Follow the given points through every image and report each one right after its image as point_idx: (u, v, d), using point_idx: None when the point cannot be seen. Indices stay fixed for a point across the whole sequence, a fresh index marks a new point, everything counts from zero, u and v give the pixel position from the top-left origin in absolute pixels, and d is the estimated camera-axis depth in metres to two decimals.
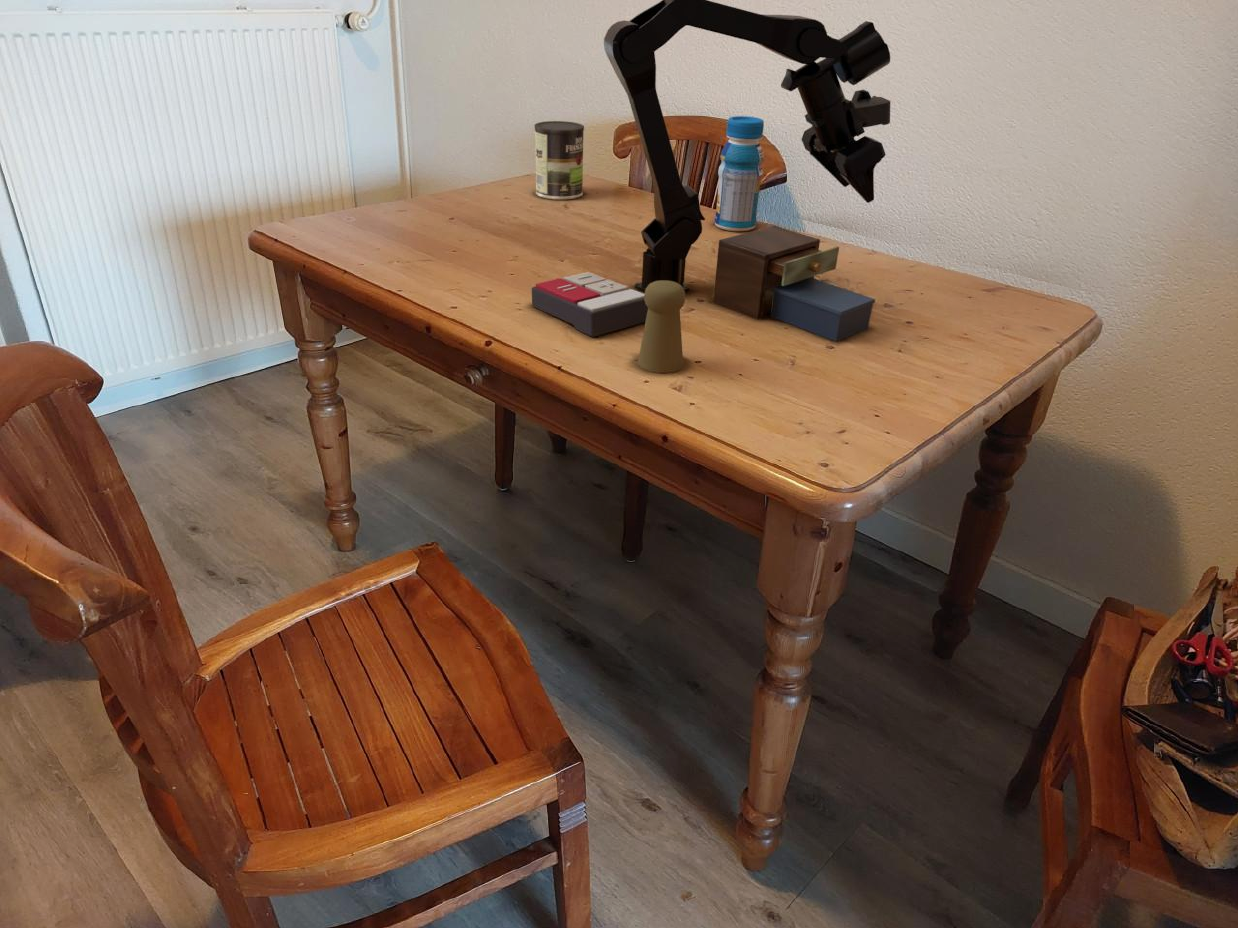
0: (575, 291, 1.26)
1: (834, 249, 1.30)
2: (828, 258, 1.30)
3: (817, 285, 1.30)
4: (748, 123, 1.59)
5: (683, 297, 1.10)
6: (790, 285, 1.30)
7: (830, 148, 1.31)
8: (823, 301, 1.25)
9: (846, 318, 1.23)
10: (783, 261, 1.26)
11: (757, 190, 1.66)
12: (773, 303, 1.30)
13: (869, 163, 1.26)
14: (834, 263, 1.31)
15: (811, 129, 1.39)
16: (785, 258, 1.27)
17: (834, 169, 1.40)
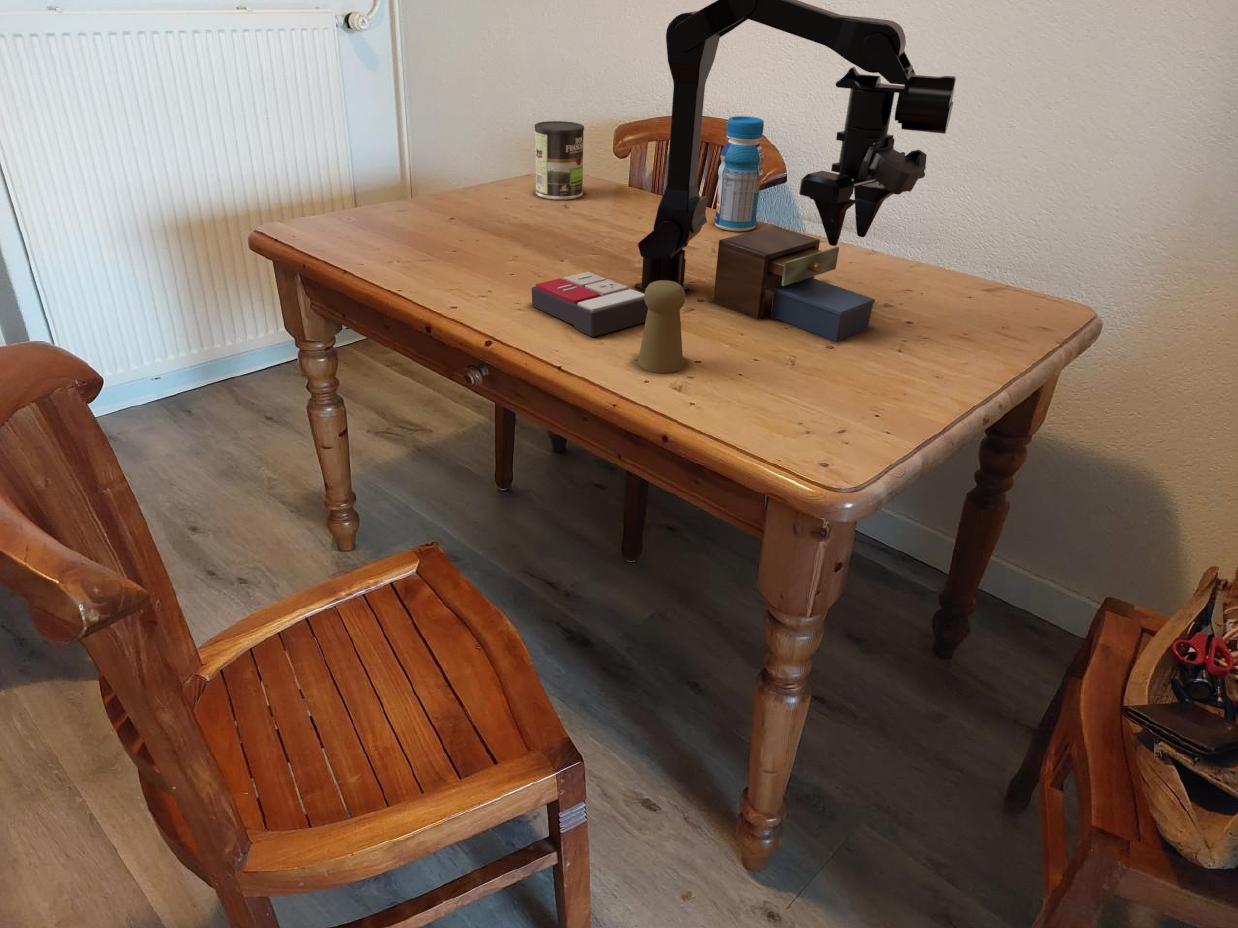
0: (575, 291, 1.26)
1: (834, 249, 1.30)
2: (828, 258, 1.30)
3: (817, 285, 1.30)
4: (748, 123, 1.59)
5: (683, 297, 1.10)
6: (790, 285, 1.30)
7: (835, 168, 1.20)
8: (823, 301, 1.25)
9: (846, 318, 1.23)
10: (783, 261, 1.26)
11: (757, 190, 1.66)
12: (773, 303, 1.30)
13: (818, 196, 1.15)
14: (834, 263, 1.31)
15: None
16: (785, 258, 1.27)
17: (859, 210, 1.26)
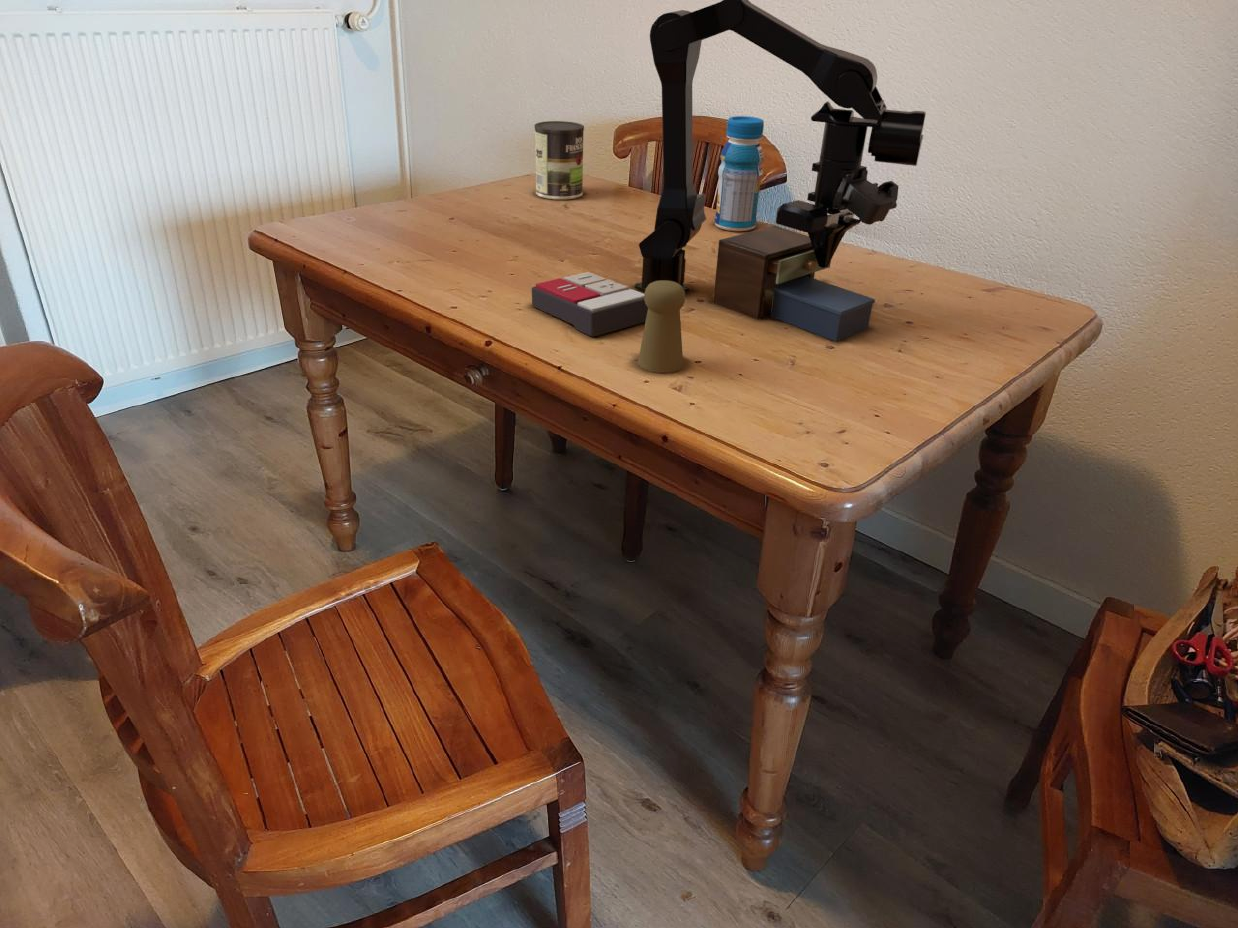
0: (575, 291, 1.26)
1: None
2: None
3: (817, 285, 1.30)
4: (748, 123, 1.59)
5: (683, 297, 1.10)
6: (790, 285, 1.30)
7: (810, 197, 1.24)
8: (823, 301, 1.25)
9: (846, 318, 1.23)
10: (777, 259, 1.27)
11: (757, 190, 1.66)
12: (773, 303, 1.30)
13: (792, 226, 1.19)
14: None
15: None
16: (779, 257, 1.28)
17: None
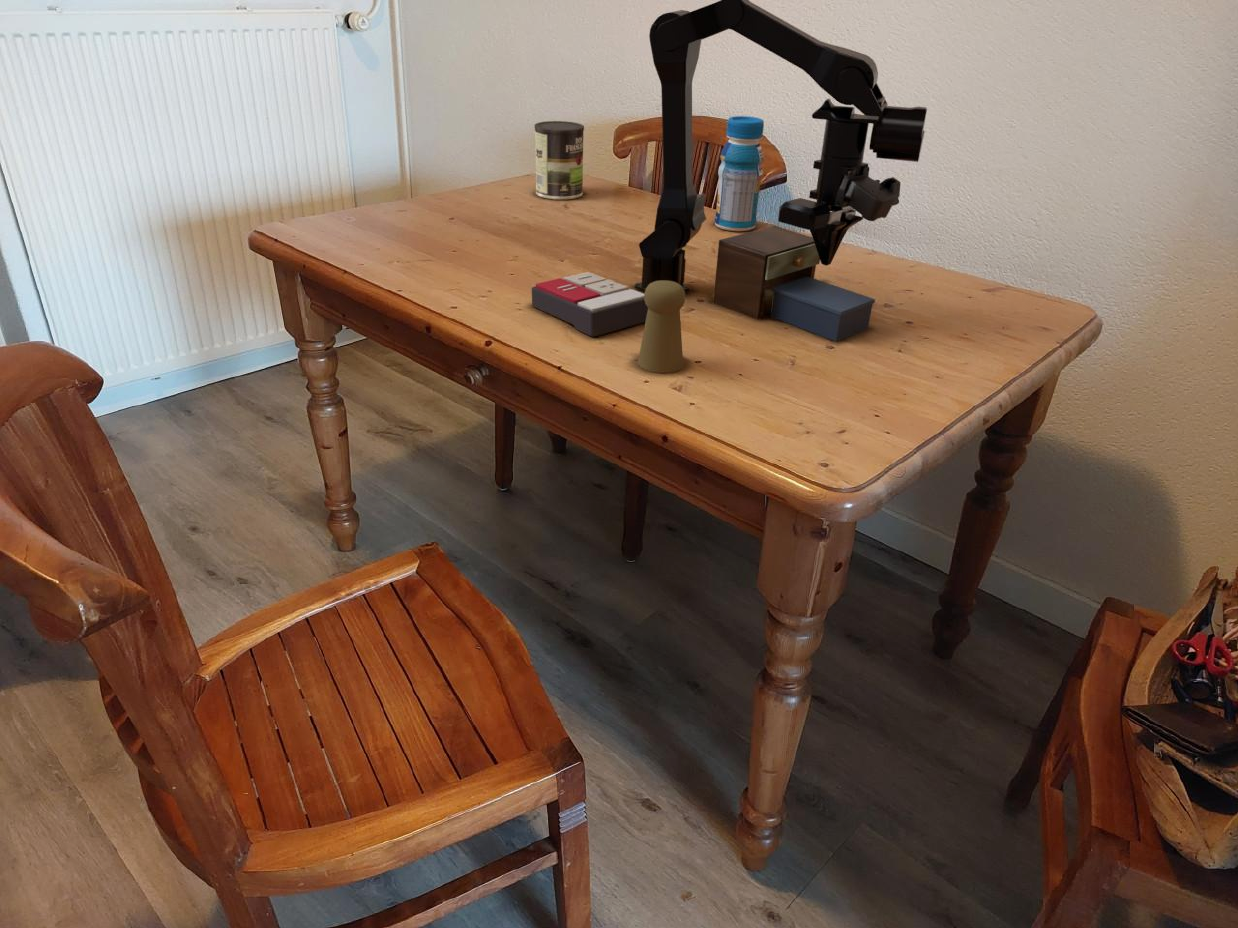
0: (575, 291, 1.26)
1: None
2: (812, 253, 1.31)
3: (817, 285, 1.30)
4: (748, 123, 1.59)
5: (683, 297, 1.10)
6: (790, 285, 1.30)
7: (812, 195, 1.24)
8: (823, 301, 1.25)
9: (846, 318, 1.23)
10: None
11: (757, 190, 1.66)
12: (773, 303, 1.30)
13: (795, 223, 1.19)
14: (818, 258, 1.33)
15: None
16: None
17: None
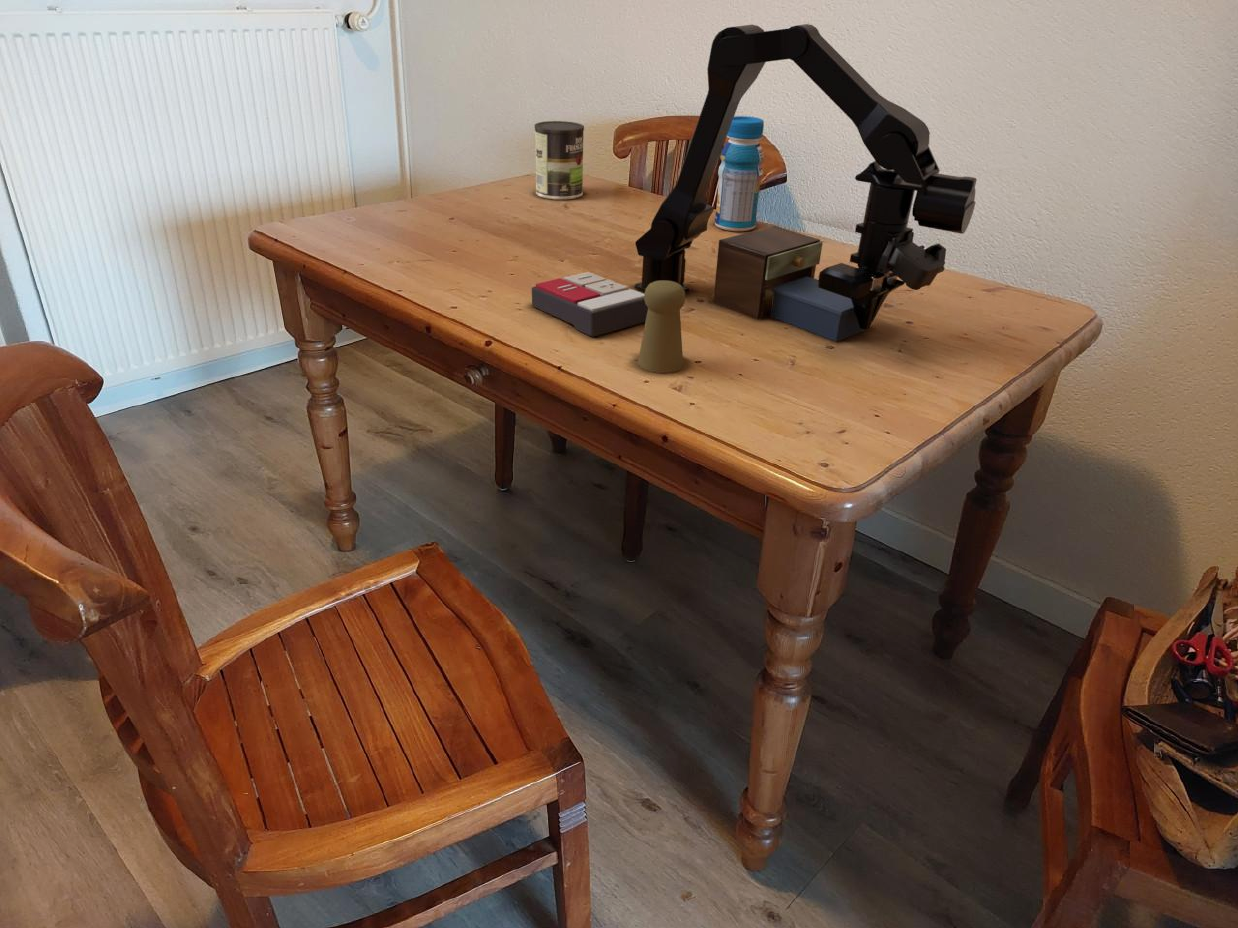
0: (575, 291, 1.26)
1: (817, 244, 1.31)
2: (812, 253, 1.31)
3: (817, 285, 1.30)
4: (748, 123, 1.59)
5: (683, 297, 1.10)
6: (790, 285, 1.30)
7: (853, 259, 1.19)
8: (823, 301, 1.25)
9: (846, 318, 1.23)
10: None
11: (757, 190, 1.66)
12: (773, 303, 1.30)
13: (836, 291, 1.15)
14: (818, 258, 1.33)
15: None
16: None
17: None
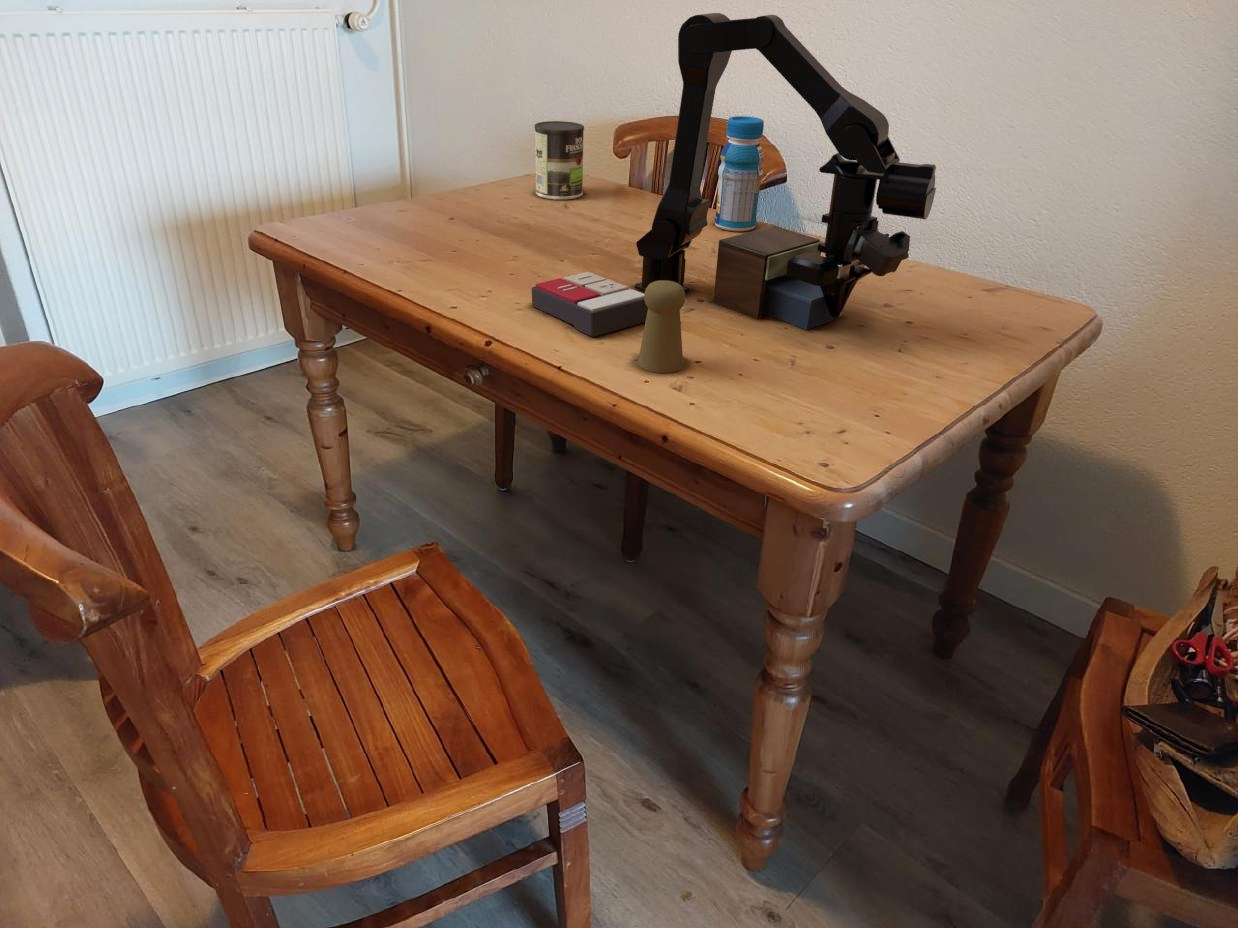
0: (575, 291, 1.26)
1: (817, 244, 1.31)
2: None
3: None
4: (748, 123, 1.59)
5: (683, 297, 1.10)
6: None
7: (821, 248, 1.22)
8: (794, 290, 1.28)
9: (816, 307, 1.26)
10: None
11: (757, 190, 1.66)
12: None
13: (803, 279, 1.18)
14: None
15: None
16: None
17: None
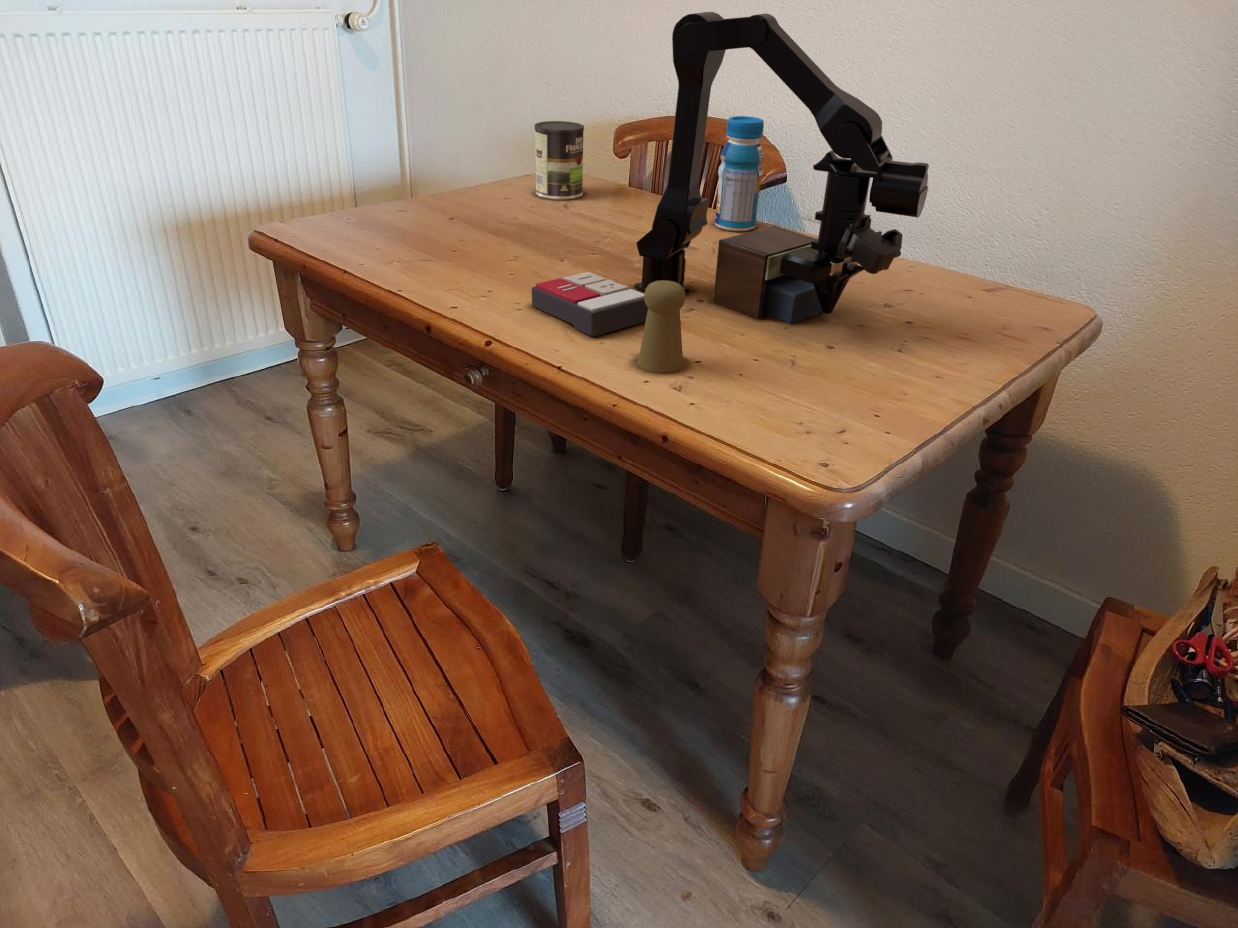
0: (575, 291, 1.26)
1: None
2: None
3: None
4: (748, 123, 1.59)
5: (683, 297, 1.10)
6: None
7: (814, 246, 1.23)
8: (778, 285, 1.30)
9: (800, 301, 1.28)
10: None
11: (757, 190, 1.66)
12: None
13: (797, 276, 1.19)
14: None
15: None
16: None
17: None
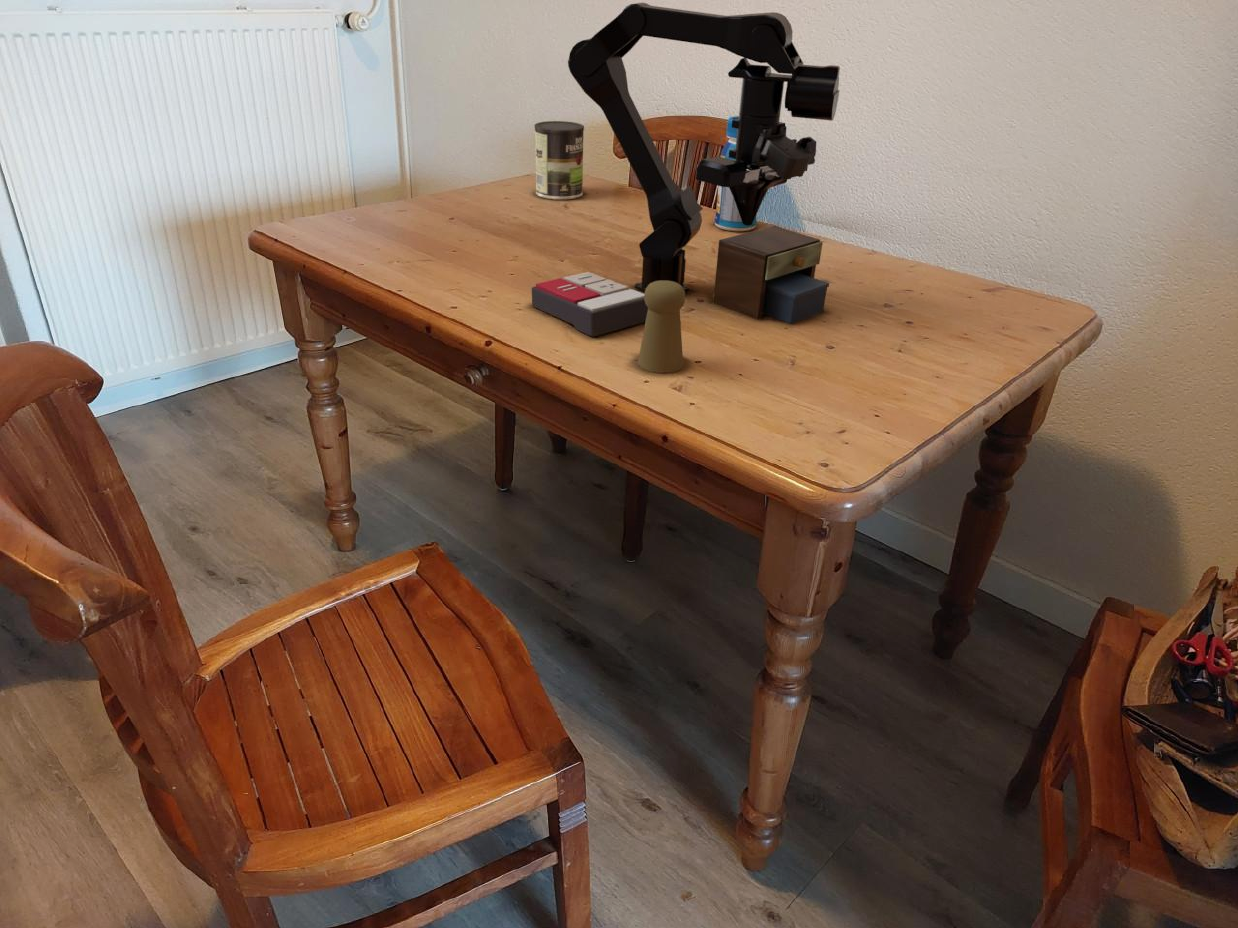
0: (575, 291, 1.26)
1: (817, 244, 1.31)
2: (812, 253, 1.31)
3: None
4: None
5: (683, 297, 1.10)
6: None
7: (731, 155, 1.25)
8: (778, 285, 1.30)
9: (800, 301, 1.28)
10: None
11: None
12: None
13: (711, 181, 1.20)
14: (818, 258, 1.33)
15: None
16: None
17: None
